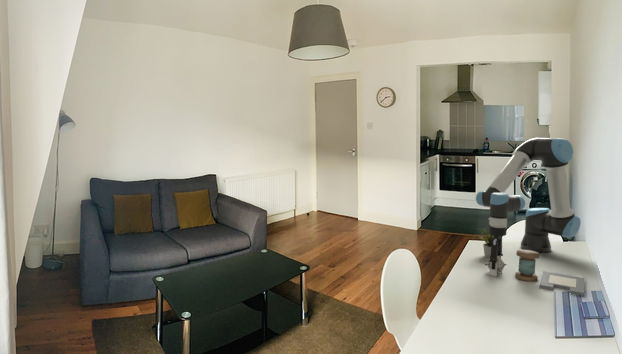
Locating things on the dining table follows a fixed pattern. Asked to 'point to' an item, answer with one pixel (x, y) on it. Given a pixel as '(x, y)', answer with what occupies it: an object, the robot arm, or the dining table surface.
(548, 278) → the notched board
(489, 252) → the house plant
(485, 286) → the dining table surface
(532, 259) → the bobbin
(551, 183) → the robot arm
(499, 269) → the game die
